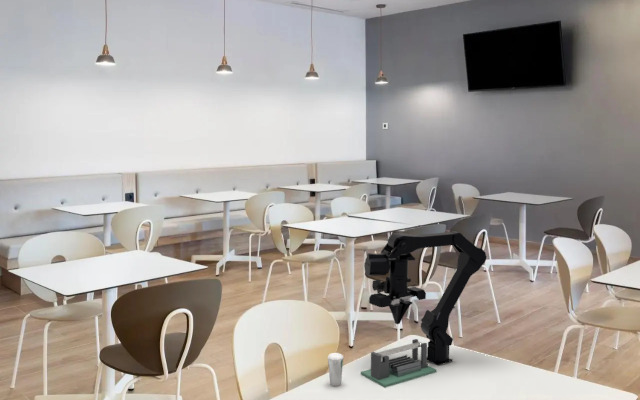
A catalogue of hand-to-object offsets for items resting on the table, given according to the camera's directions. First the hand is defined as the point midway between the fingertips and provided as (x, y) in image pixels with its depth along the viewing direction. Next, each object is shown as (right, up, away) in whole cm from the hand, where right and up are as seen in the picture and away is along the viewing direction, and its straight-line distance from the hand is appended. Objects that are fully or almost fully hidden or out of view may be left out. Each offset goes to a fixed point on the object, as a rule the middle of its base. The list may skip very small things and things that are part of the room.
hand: (397, 323), depth 190 cm
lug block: (-6, -14, -10) cm, 18 cm away
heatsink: (+1, -14, -5) cm, 15 cm away
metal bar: (0, -8, -6) cm, 10 cm away
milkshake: (-19, -15, -13) cm, 27 cm away
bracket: (+7, -13, -1) cm, 15 cm away
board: (0, -14, -5) cm, 15 cm away
